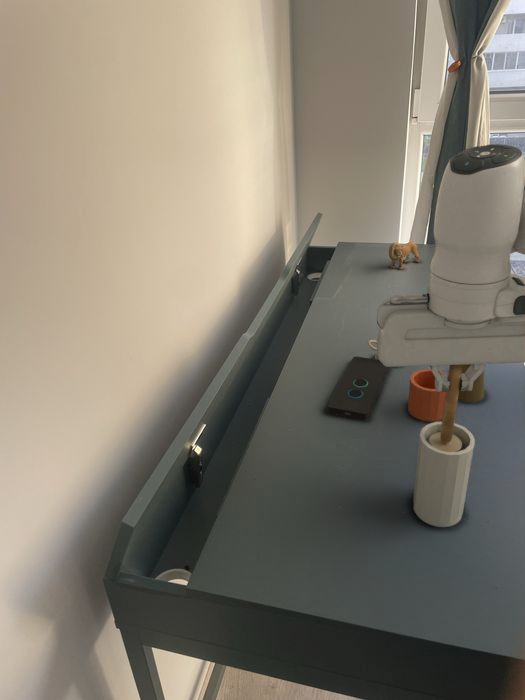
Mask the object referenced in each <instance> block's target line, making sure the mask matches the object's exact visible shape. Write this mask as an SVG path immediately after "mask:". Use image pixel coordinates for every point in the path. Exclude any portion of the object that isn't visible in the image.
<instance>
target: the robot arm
mask: <svg viewBox="0 0 525 700" xmlns="http://www.w3.org/2000/svg"><path fill="white" fill-rule="evenodd" d="M434 213H435V214H434V222H433V240H434V244H435V248H434V254H433V256H432V259H431V261H430V264H429V274H428V281H427V282H428V283H427V293H419V294H417V293H416V294H409V295H402V294H396V295H395V294H394V295H391V296H389V298H387V299H385V300H383V301H382V302H380V303H379V305H378V307H377V309H376V324H377V325H378V327H379V328H378V334H377V340H376V341H377V344H376V348H377V351H376V355H377V354H378V358H379V360H380V362H381V363H382V364H383V365H384V366H386V367H388V368H397V367H398V368H399V367H426V366H427V367H428V366H429V369H431V371H432V373H433V374H434V376H435V388H436V390H437V392H440V391H441V392H443V391H449V386H450V380H449V378H448V374H447V373H446V374H440V372H439V371H441V372H443V371H444V367H445V366H449V365H465V364H471V366H470V367H469V368H468V370H467V371H466V372H465V373H463V374H461V381H460V388H459V390H460V391H472V388H473V382H474V381H475V380H476V379H477V378H478V377H479V375H480V374H481V373H482V372H483V371H484V372H485V370H486V366H487V365H491V364H492V365H494V364H495V365H496V364H497V365H498V364H525V276H523V275H518V274H516V273H515V274H514V273H512V264H511V254H514V253H518V254H521V255H524V256H525V156H524V153H523V151H522V150H521V149H520V148H519V147H516V146H513V145H510V144H509V145H508V144H502V143H501V144H500V143H496V144H495V143H493V144H486V145H476V146H473V147H469V148H466V149H464V150H462V151H460V152H458V153H457V154H455V155H454V156H452V157H451V158H449V161H448V162H447V164H446V167H445V169H444V172H443V174H442V178H441V181H440V184H439V189H438V194H437V200H436V205H435V212H434Z"/></svg>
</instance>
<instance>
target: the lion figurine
mask: <svg viewBox="0 0 525 700" xmlns="http://www.w3.org/2000/svg"><path fill="white" fill-rule="evenodd" d="M410 254H412V255H413V256H414V258H415V260H414V261H415V262H416V263H419V262H420V254H419V251H418V245H417V244H416V242H414V241H411V242H407V243H405V244H403V245H402V244H401V243H399V242H398V241H395V242H392V243H391V244H390V245H389V246H388V257H389V259H390V260H391V264H392V265H390V268H391V269H394V268H395V267H396V262H398V261H399V264H398V270H403V268H404V267H403V263H407V262H408V260H409V259H410V256H411V255H410ZM404 258H405V259H404Z"/></svg>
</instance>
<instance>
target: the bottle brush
mask: <svg viewBox="0 0 525 700" xmlns="http://www.w3.org/2000/svg"><path fill="white" fill-rule="evenodd" d="M462 367H463V365H448V374H447V375H448V378H449V380H450V386H449V391H446V395H445V403H444V411H443V419H442V420H441V422H442V426H441V432H438V433H435V434H433V435H432V436H431V437H430V439H429V444H430V445H431V446H432V447H434V448H436V449H438V450H442V451H446V452H458V451H461V449H462V442H461V440H460V439H459V438H458V437H457V436H455V435H453V429H454V423H455V422H456V414H457V408H458V401H459V399H458V395H459V388H460V381H461V374H462Z"/></svg>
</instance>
